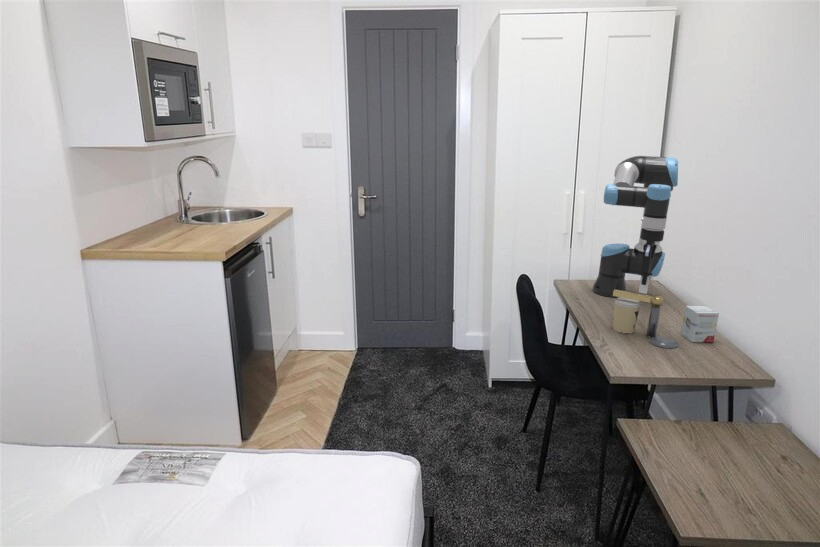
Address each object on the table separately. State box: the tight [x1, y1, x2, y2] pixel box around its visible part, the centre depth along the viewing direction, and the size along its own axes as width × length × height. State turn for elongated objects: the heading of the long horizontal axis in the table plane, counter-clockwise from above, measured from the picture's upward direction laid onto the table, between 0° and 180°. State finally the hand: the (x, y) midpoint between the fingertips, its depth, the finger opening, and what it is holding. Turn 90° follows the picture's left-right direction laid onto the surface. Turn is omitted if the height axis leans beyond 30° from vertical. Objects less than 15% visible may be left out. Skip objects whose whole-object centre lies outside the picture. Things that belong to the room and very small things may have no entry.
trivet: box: [648, 335, 680, 350], centre depth 200 cm, size 10×10×1 cm
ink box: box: [680, 305, 720, 343], centre depth 205 cm, size 9×9×12 cm
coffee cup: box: [612, 297, 642, 334], centre depth 210 cm, size 9×9×12 cm
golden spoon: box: [613, 289, 665, 307], centre depth 206 cm, size 4×18×3 cm, turn 59°
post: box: [645, 304, 662, 338], centre depth 205 cm, size 3×3×12 cm
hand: (642, 292), depth 198 cm, fingers closed
